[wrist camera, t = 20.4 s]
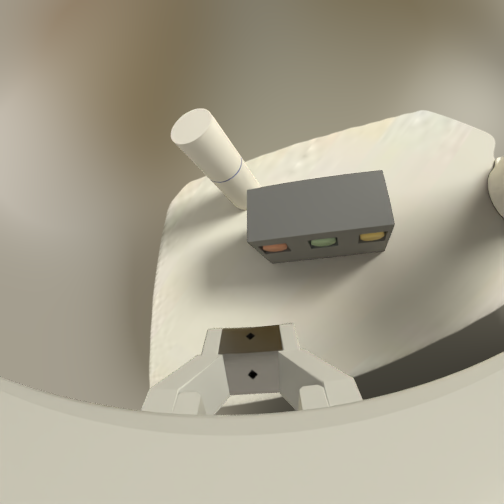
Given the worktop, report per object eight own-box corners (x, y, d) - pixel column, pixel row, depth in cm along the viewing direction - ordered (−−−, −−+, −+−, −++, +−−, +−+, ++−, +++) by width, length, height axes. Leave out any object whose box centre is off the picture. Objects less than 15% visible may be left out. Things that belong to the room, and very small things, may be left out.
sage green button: (334, 226, 46) (332, 217, 42) (336, 244, 45) (335, 237, 41) (311, 229, 47) (307, 220, 44) (312, 247, 46) (309, 240, 43)
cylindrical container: (248, 215, 60) (188, 150, 37) (226, 200, 63) (163, 136, 40) (269, 190, 60) (220, 114, 37) (245, 176, 63) (192, 104, 40)
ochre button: (380, 221, 43) (382, 211, 40) (383, 239, 43) (385, 231, 39) (357, 223, 45) (357, 214, 41) (360, 241, 44) (360, 234, 40)
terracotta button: (288, 232, 48) (283, 224, 45) (289, 250, 48) (284, 243, 44) (266, 235, 50) (259, 227, 46) (266, 252, 49) (259, 246, 45)
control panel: (376, 207, 51) (382, 170, 38) (384, 250, 48) (394, 224, 36) (270, 220, 58) (246, 189, 45) (272, 263, 55) (247, 242, 43)
